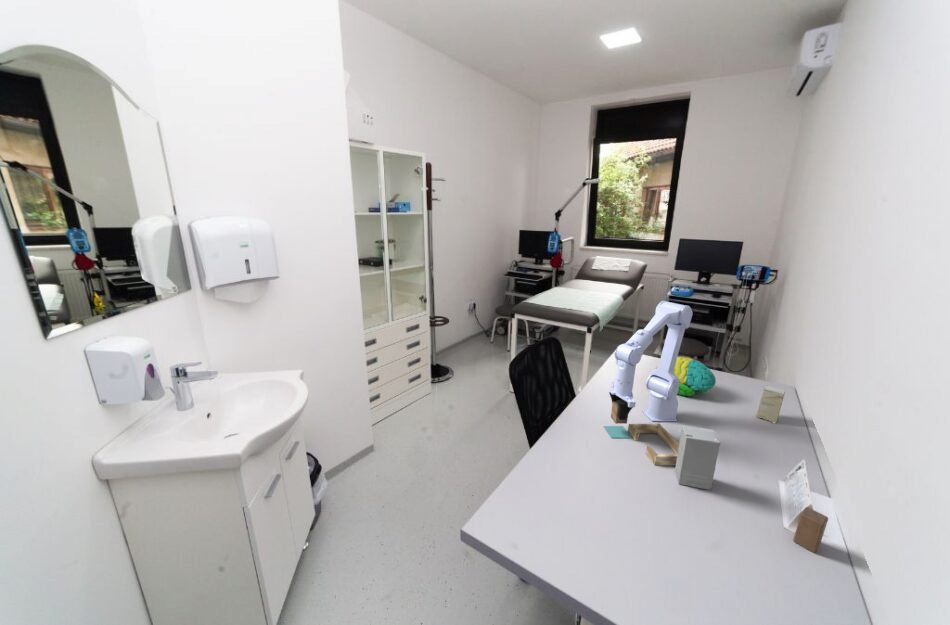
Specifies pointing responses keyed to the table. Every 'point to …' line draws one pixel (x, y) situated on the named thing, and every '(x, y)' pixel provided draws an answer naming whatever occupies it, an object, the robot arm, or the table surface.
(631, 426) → the open wooden frame
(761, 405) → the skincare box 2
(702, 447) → the skincare box
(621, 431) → the mat
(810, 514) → the wooden block
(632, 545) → the table surface
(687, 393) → the brain model
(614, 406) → the walnut block
